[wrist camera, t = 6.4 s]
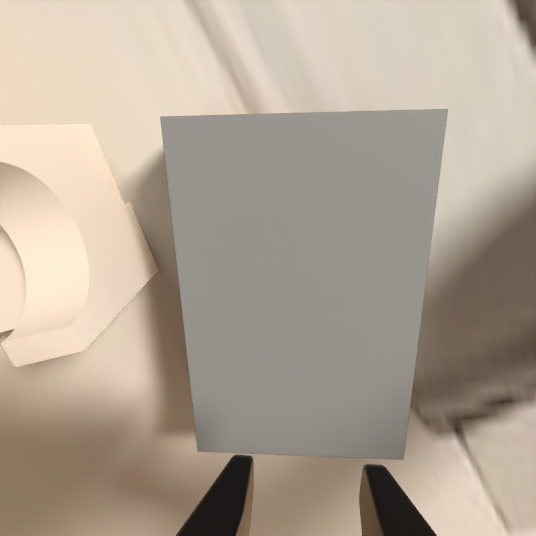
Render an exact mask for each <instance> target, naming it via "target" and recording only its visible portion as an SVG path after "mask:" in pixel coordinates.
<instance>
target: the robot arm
mask: <svg viewBox="0 0 536 536" xmlns="http://www.w3.org/2000/svg"><path fill="white" fill-rule="evenodd" d="M252 500H253V457H251V456H246V455H235V456H233V457H232V458H231V459H230V461H229V462H228V464H227V465H226V466H225V468H224V469H223V471H222V472H221V473H220V475H219V476H218V478H217V479H216V480H215V482H214V483H213V485H212V486H211V487H210V489H209V490H208V492H207V493H206V494H205V496H204V497H203V498H202V500H201V501H200V503H199V504H198V505H197V507H196V508H195V510H194V511H193V512H192V514H191V515H190V517H189V518H188V519H187V521H186V522H185V524H184V525H183V526H182V528H181V529H180V531H179V532H178V533H177V535H176V536H249V531H250V521H251V510H252ZM359 504H360V515H361V526H362V536H437V535H436V534H435V533H434V531H433V530H432V529H431V527H430V526H429V525H428V523H427V522H426V521H425V519H424V518H423V517H422V515H421V514H420V513H419V511H418V510H417V509H416V507H415V506H414V505H413V503H412V502H411V501H410V499H409V498H408V497H407V495H406V494H405V493H404V491H403V490H402V489H401V487H400V486H399V485H398V483H397V482H396V481H395V479H394V478H393V477H392V475H391V474H390V473H389V471H388V470H387V469H386V468H385V467H384V466H382V465H372V464H366V465H364V467H363V471H362V478H361V486H360V494H359Z"/></svg>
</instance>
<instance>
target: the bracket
mask: <svg viewBox="0 0 536 536" xmlns="http://www.w3.org/2000/svg"><path fill="white" fill-rule="evenodd" d="M157 272H158V267H157V265H156V263H155V260H154V258H153V255H152V253H151V251H150V248H149V246H148V243H147V241H146V239H145V236H144V234H143V231H142V229H141V227H140V224H139V222H138V219H137V217H136V215H135V212H134V210H133V207H132V205H131V203H130V202H127V203H123V200H122V198H121V196H120V193H119V191H118V189H117V186H116V184H115V182H114V179H113V177H112V174H111V172H110V170H109V167H108V165H107V163H106V160H105V158H104V156H103V153H102V151H101V148H100V146H99V144H98V141H97V139H96V137H95V134H94V132H93V130H92V127H91V125H90V124H66V125H4V126H0V333H1V332H4V331H8V330H12V329H14V330H13V332H12V333H11V334H10V335H9V336H8V337H7V339H5V340H4V341H3V342H2V343H1V345H2V347H3V348H4V350H5V352H6V353H7V355H8V357H9V358H10V360H11V362H12V363H13V365H14V367H19V366H24V365H28V364H32V363H36V362H40V361H44V360H48V359H53V358H57V357H61V356H65V355H69V354H73V353H78V352H82V351H84V350H85V349H86V348H87V347H88V346H89V345H90V344H91V343H92V342H93V340H94V339H95V338H96V337H97V336H98V335H99V334H100V333H101V332H102V331H103V330H104V329H105V328H106V326H107V325H108V324H109V323H110V322H111V321H112V320H113V319H114V318H115V317H116V316H117V315H118V314H119V312H120V311H121V310H122V309H123V308H124V307H125V306H126V305H127V304H128V303H129V302H130V301H131V300H132V298H133V297H134V296H135V295H136V294H137V293H138V292H139V291H140V290H141V289H142V288H143V287H144V286H145V284H146V283H147V282H148V281H149V280H150V279H151V278H152V277H153V276H154V275H155V274H156V273H157Z"/></svg>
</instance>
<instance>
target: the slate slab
mask: <svg viewBox="0 0 536 536" xmlns="http://www.w3.org/2000/svg"><path fill="white" fill-rule="evenodd" d="M447 113H448V109H428V110H391V111H353V112H316V113H279V114H241V115H204V116H167V117H160V119H161V128H162V137H163V146H164V155H165V163H166V172H167V181H168V190H169V199H170V208H171V217H172V226H173V235H174V244H175V253H176V262H177V271H178V279H179V288H180V297H181V306H182V315H183V324H184V333H185V342H186V351H187V360H188V369H189V378H190V387H191V395H192V404H193V413H194V422H195V431H196V440H197V449H198V452H222V453H248V454H273V455H298V456H324V457H349V458H374V459H399V460H403V458H404V451H405V443H406V435H407V427H408V419H409V411H410V403H411V396H412V388H413V380H414V372H415V364H416V356H417V349H418V341H419V333H420V325H421V317H422V309H423V301H424V294H425V286H426V278H427V270H428V262H429V254H430V246H431V239H432V231H433V223H434V215H435V207H436V199H437V191H438V184H439V176H440V168H441V160H442V152H443V144H444V137H445V129H446V121H447Z"/></svg>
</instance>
